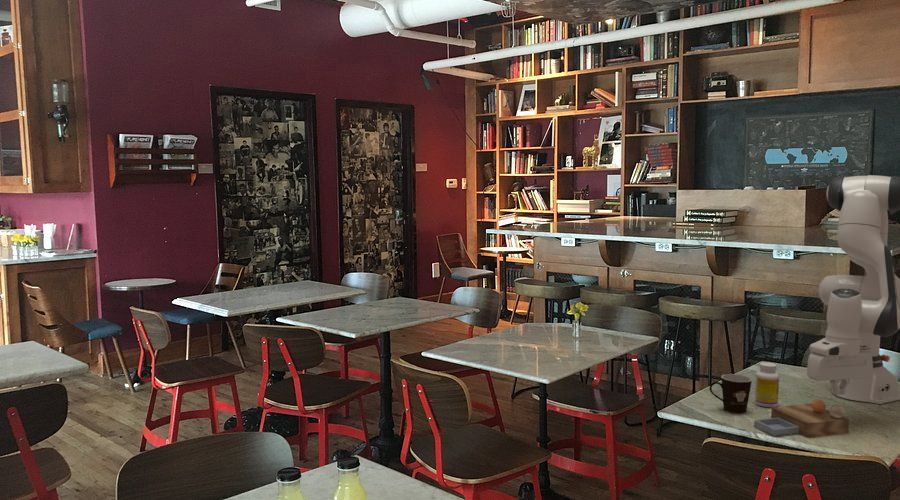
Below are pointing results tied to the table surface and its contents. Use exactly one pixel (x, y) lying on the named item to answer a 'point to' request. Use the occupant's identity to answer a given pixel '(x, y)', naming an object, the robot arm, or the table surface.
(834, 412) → the cream ball
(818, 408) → the ball
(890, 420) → the table surface
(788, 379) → the table surface
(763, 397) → the supplement bottle
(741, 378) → the coffee mug
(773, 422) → the dish
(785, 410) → the wooden cutting board
